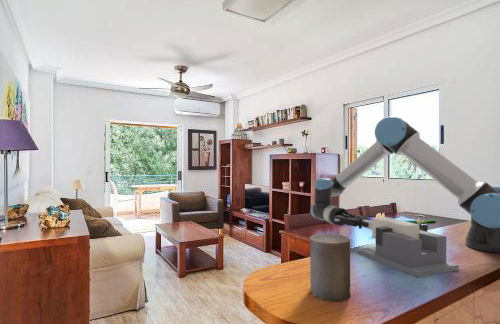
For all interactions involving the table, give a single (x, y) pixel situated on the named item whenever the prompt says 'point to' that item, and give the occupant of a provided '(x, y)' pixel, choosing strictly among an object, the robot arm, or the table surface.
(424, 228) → the cup
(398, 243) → the guide
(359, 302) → the table surface
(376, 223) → the peg
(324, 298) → the pillar candle
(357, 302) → the table surface
